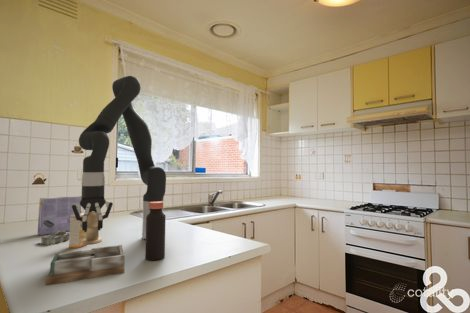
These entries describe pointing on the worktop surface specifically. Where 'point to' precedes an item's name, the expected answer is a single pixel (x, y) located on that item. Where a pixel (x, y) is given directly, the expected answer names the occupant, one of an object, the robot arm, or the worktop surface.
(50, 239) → the egg carton
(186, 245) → the worktop surface
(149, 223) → the bottle
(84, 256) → the brown shallow boxy piece
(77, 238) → the supplement box
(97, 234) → the keyhole peg
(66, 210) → the cake pan box
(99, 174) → the robot arm
